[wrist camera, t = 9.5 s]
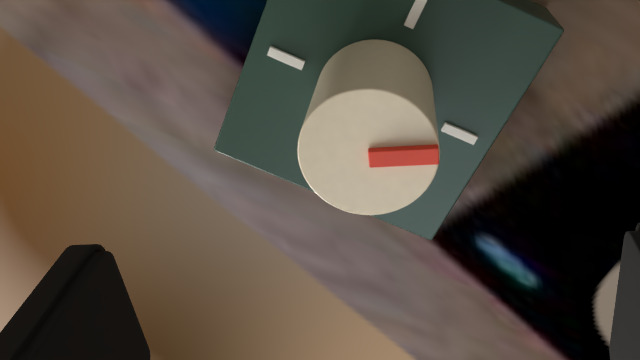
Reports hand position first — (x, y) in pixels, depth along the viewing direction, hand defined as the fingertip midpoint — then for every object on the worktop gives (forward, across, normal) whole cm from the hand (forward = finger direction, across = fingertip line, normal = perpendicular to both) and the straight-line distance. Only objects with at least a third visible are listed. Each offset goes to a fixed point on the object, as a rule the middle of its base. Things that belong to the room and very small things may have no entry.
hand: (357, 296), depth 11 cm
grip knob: (+13, 0, +2) cm, 13 cm away
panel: (+16, 0, +2) cm, 16 cm away
